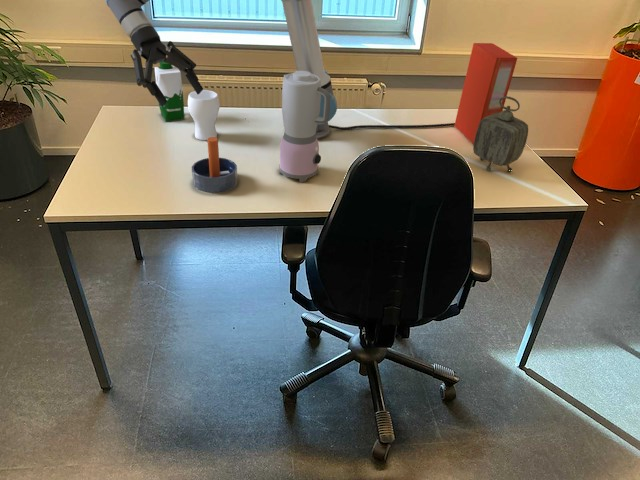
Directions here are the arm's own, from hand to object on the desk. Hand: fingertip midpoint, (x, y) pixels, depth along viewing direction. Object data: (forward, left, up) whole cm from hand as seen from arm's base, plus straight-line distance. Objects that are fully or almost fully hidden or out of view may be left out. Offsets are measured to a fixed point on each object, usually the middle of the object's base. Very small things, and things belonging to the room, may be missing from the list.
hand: (183, 97), depth 150 cm
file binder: (-94, -53, -24) cm, 110 cm away
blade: (-10, +5, -23) cm, 26 cm away
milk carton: (+20, -40, -24) cm, 51 cm away
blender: (-35, -7, -24) cm, 43 cm away
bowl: (-10, +5, -24) cm, 26 cm away
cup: (+3, -27, -24) cm, 37 cm away
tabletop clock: (-97, -26, -24) cm, 103 cm away
